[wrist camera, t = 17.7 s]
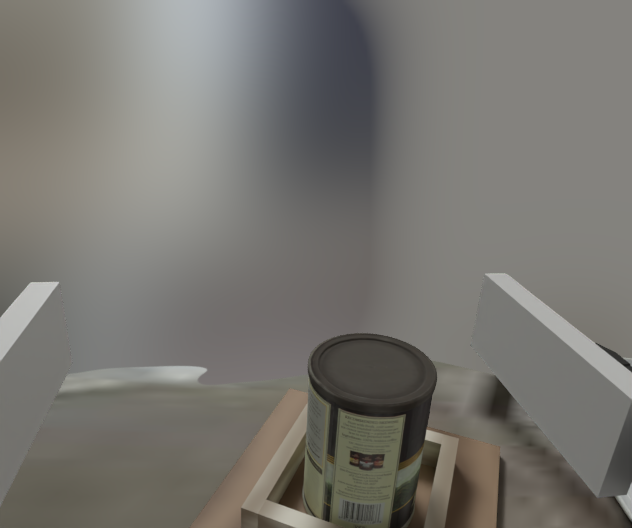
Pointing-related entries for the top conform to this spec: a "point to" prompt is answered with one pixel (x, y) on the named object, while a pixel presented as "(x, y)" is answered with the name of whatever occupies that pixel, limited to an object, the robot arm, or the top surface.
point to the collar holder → (288, 478)
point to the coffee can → (366, 430)
